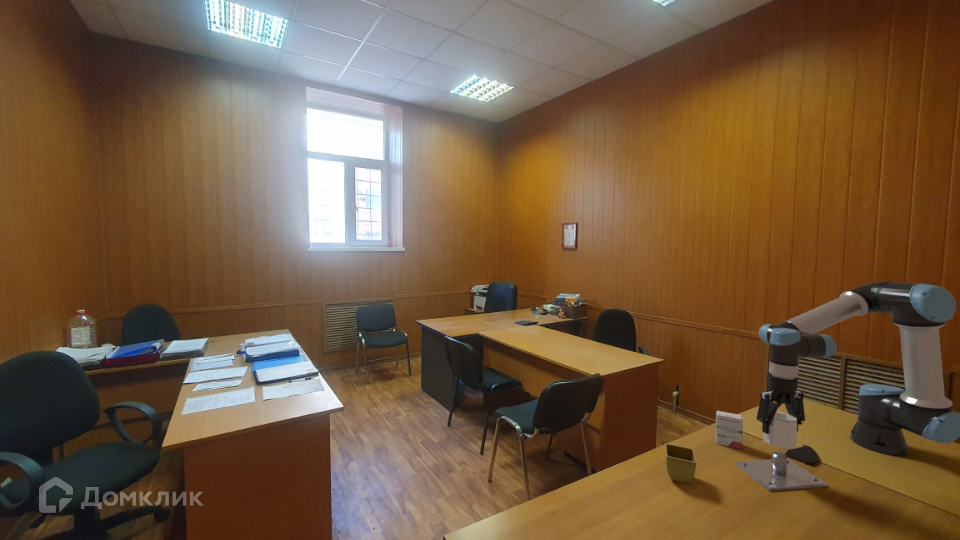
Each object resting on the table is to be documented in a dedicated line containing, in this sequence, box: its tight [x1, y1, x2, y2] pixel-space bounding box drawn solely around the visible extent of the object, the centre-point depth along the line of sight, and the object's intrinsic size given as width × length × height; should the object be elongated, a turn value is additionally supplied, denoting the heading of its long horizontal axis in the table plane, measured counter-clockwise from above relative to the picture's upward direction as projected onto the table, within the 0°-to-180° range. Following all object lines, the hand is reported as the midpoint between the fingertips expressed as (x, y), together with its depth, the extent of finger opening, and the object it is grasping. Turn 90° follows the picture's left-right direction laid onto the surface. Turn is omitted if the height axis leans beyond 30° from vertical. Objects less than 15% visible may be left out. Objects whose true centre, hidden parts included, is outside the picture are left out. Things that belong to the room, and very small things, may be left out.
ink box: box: [715, 410, 744, 450], centre depth 144 cm, size 9×5×12 cm, turn 58°
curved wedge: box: [784, 443, 819, 467], centre depth 136 cm, size 8×14×2 cm, turn 122°
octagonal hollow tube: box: [766, 410, 797, 450], centre depth 123 cm, size 8×8×9 cm
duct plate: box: [734, 451, 828, 492], centre depth 124 cm, size 20×14×7 cm
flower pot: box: [664, 443, 698, 484], centre depth 123 cm, size 9×9×9 cm
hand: (779, 441), depth 124 cm, fingers closed on octagonal hollow tube, 8 cm apart
